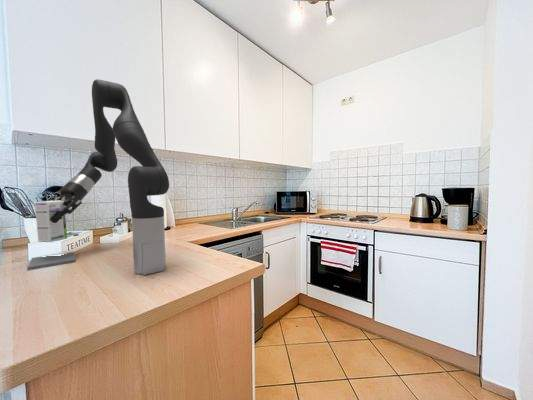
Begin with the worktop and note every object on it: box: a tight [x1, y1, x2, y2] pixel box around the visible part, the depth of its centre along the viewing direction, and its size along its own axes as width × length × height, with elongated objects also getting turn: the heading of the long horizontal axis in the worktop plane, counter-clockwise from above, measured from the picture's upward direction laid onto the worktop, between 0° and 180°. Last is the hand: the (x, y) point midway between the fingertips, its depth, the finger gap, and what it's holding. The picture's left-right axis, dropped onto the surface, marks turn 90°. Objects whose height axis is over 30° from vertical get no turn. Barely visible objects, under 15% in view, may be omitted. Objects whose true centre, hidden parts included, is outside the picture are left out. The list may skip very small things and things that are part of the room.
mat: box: [27, 251, 76, 271], centre depth 84 cm, size 14×12×1 cm
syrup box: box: [34, 200, 68, 243], centre depth 83 cm, size 6×6×14 cm
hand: (45, 221), depth 81 cm, fingers closed on syrup box, 6 cm apart
